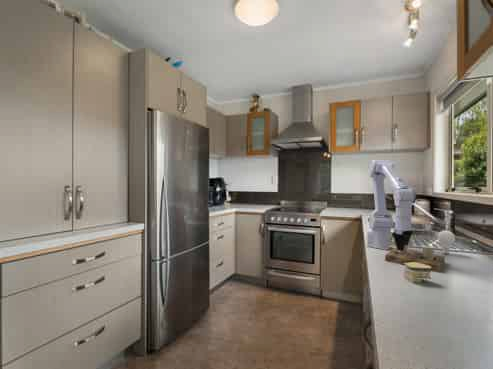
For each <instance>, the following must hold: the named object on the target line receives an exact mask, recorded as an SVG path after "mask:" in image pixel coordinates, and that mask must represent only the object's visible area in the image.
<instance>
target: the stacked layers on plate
mask: <svg viewBox="0 0 493 369" xmlns="http://www.w3.org/2000/svg"><path fill="white" fill-rule="evenodd" d="M403 264H406V265H405V266H402V268H403V269H404V271H403V272H402V274H403V275H404V276H403V279H404V280H405V279H406V281H408V282H409V283H412V282H417V283H422V282H423V280H431V279H432V277H431V273H432V271H431V270H428V268H431V266H428V265H424V264H421V263H417V262H410V263H403ZM407 265H408V266H407ZM425 268H426V269H425Z"/></svg>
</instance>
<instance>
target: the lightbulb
mask: <svg viewBox="0 0 493 369" xmlns="http://www.w3.org/2000/svg"><path fill="white" fill-rule="evenodd" d="M437 239H438V241H439V242H440V245H441V252H442V253H443V254H444V255H448V254H450V249H451V246H452V244H454V242H455V240H456V235H455V233H454V232H452V231H451V230H448V229H447V230H444V229H443V230H440V231H439V232H438V234H437Z"/></svg>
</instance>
